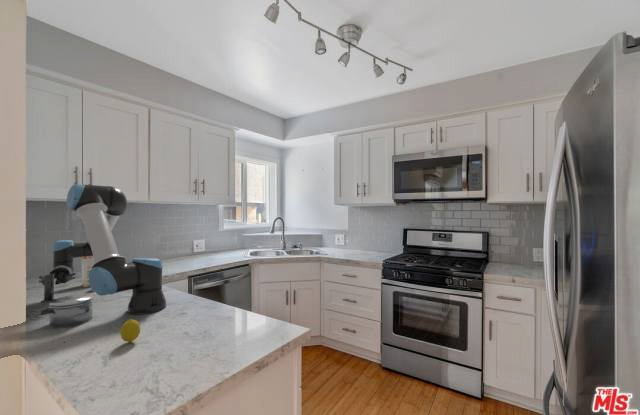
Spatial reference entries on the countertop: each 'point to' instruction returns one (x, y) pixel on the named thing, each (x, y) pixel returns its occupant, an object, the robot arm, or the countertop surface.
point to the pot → (69, 314)
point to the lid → (63, 300)
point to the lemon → (130, 330)
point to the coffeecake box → (86, 269)
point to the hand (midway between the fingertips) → (51, 284)
